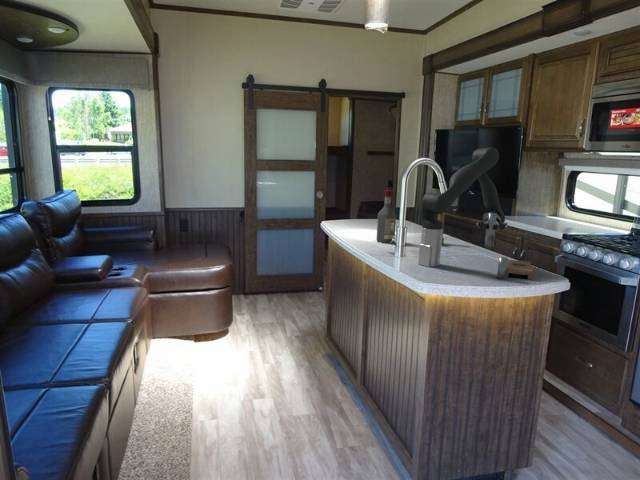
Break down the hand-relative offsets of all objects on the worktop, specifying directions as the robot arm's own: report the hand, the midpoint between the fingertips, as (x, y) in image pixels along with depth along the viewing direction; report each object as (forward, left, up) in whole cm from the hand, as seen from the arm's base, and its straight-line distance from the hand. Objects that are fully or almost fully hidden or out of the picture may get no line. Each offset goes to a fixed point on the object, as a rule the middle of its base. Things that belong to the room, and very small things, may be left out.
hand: (490, 227), depth 197 cm
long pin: (+3, +1, -9) cm, 9 cm away
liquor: (+11, +70, -20) cm, 74 cm away
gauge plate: (+7, -11, -20) cm, 24 cm away
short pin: (-8, -11, -20) cm, 24 cm away
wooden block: (+32, +51, -20) cm, 64 cm away
